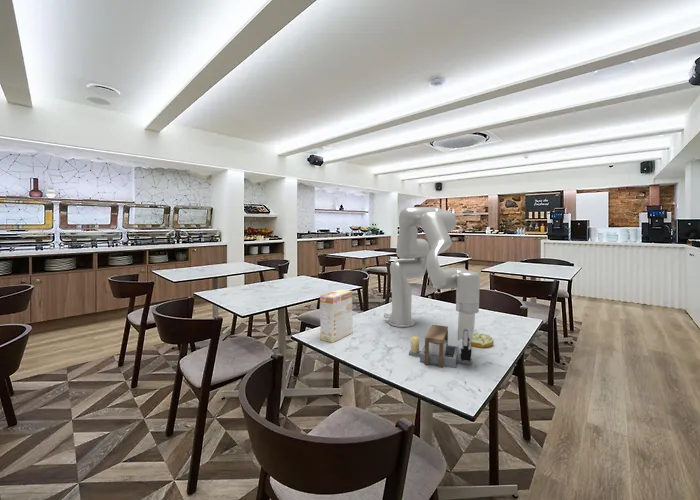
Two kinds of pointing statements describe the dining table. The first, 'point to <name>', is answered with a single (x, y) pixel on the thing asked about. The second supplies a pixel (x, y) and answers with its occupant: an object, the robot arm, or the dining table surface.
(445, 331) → the tunnel
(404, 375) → the dining table surface
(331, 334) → the coffeecake box
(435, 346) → the white cylinder
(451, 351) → the slider
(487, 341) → the decorated donut
